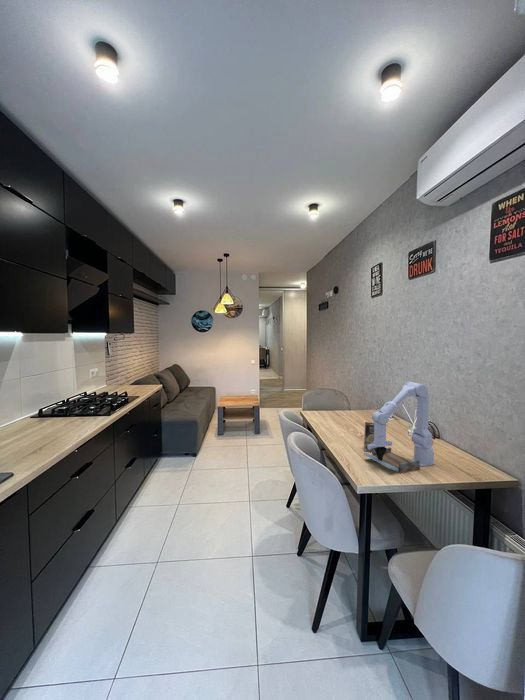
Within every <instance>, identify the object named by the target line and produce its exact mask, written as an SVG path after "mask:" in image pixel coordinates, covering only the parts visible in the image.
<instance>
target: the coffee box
mask: <svg viewBox="0 0 525 700" xmlns="http://www.w3.org/2000/svg"><path fill="white" fill-rule="evenodd" d="M363 435H364V439H363V450H364V452H365V453H367V452H369V453H372V450H375V449H374V448H372V449H368V448H367V445H368V444H371V443H373V441H374V422H369V421H365V422H364V433H363Z"/></svg>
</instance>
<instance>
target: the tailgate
mask: <svg viewBox="0 0 525 700" xmlns="http://www.w3.org/2000/svg"><path fill="white" fill-rule="evenodd" d="M363 455H364V456H365V457H366V458H368V459H371V460H373V461H375V462H376V463H379V464H380V465H382V466H383V467H385V468H386V469H389V470H392V471H395V472H397V471H399V469H398V468H396V467H395V466H393V465H391V464H389V463H387V462H385V461H383V460H382V461H380V460H379V459H378V458H377V457H376V456H374V455H372V454H370V453H367V452H363Z"/></svg>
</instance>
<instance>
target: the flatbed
mask: <svg viewBox="0 0 525 700" xmlns="http://www.w3.org/2000/svg"><path fill="white" fill-rule="evenodd" d="M386 448H387V450H386V452H385V453H384V456H383V459H382V460H383V461H385V462H387V463H389V464H391V465H393V466H395V467H396V468H398V469H399V471H396V473H399V474H405V473H410V472H415V471H420V469H421V466H420V465H419V461H418V460H416V461H410V460H408V459H407V458H405V457H403V456H400V455H398V454H396V453H395V452H392V447H386ZM371 453H372V454H371V455H374V456H376V457H377V454H376V451H375V450H372V452H371ZM377 458H378V457H377Z"/></svg>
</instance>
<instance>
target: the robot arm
mask: <svg viewBox="0 0 525 700" xmlns="http://www.w3.org/2000/svg"><path fill="white" fill-rule="evenodd" d="M428 390H429V387H428V386H426V385H425V384H423V383H417V382H413V381H407V382H405V384H404V385H403V386H402V389H401V390H400V391H399V392H398V394H396V396H395V397H394V398H393V399H392V401H390V400H389V401H386V402H385V403H384V405H383V406H382V407H381V408H380V409H379V410H378V411H375V412H374V413H373V414H372V415H371V419H372V421H373V423H374V441H373V443H371V444H368V445H367V448H368V449H372V448H374V449H375V451H376V454H377V457H378V459H379V460H380V461H382V459H383V456H384V453H385V452H386V450H387V448H388V447H390V446H393V441H392V440H391V441H390V440H387V424H388V422H389V421H390V417H391V416H393V414H394V413H395V412H397V410H398V406H399V405H400V404H401V403H403V402H404V401H405V400H406V399H408V398H409V397H414V398H416V400H417V403H416V404H417V405H416V406H417V407H416V427H415V428H414V429H413V430H412V431H413V432H412V435H411V441H412V442H413V445H414V446H413V448H414V449H413V459H410V460H409V461H416V460H418V461H419V466H420V467H427V466H433V465H435V464H436V463H435V459H434V458H435V451H434V448H433V446H434V439H433V434H432V433H431V431H430V430H429V415H430V414H429V411H430V395H429V391H428Z"/></svg>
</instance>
